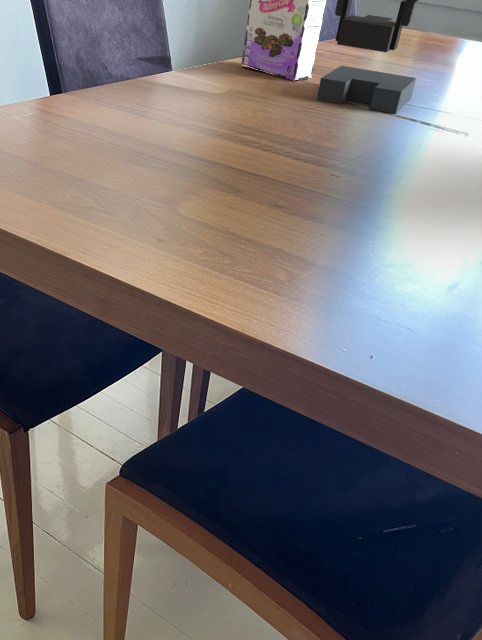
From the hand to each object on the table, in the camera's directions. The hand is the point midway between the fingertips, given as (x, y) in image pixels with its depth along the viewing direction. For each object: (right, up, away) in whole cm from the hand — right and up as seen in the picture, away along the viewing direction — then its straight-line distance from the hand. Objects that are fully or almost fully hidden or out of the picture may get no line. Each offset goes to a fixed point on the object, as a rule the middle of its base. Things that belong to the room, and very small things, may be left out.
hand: (366, 44), depth 117 cm
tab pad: (+1, +1, +1) cm, 2 cm away
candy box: (-10, +9, +27) cm, 30 cm away
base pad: (+4, -2, +14) cm, 15 cm away
